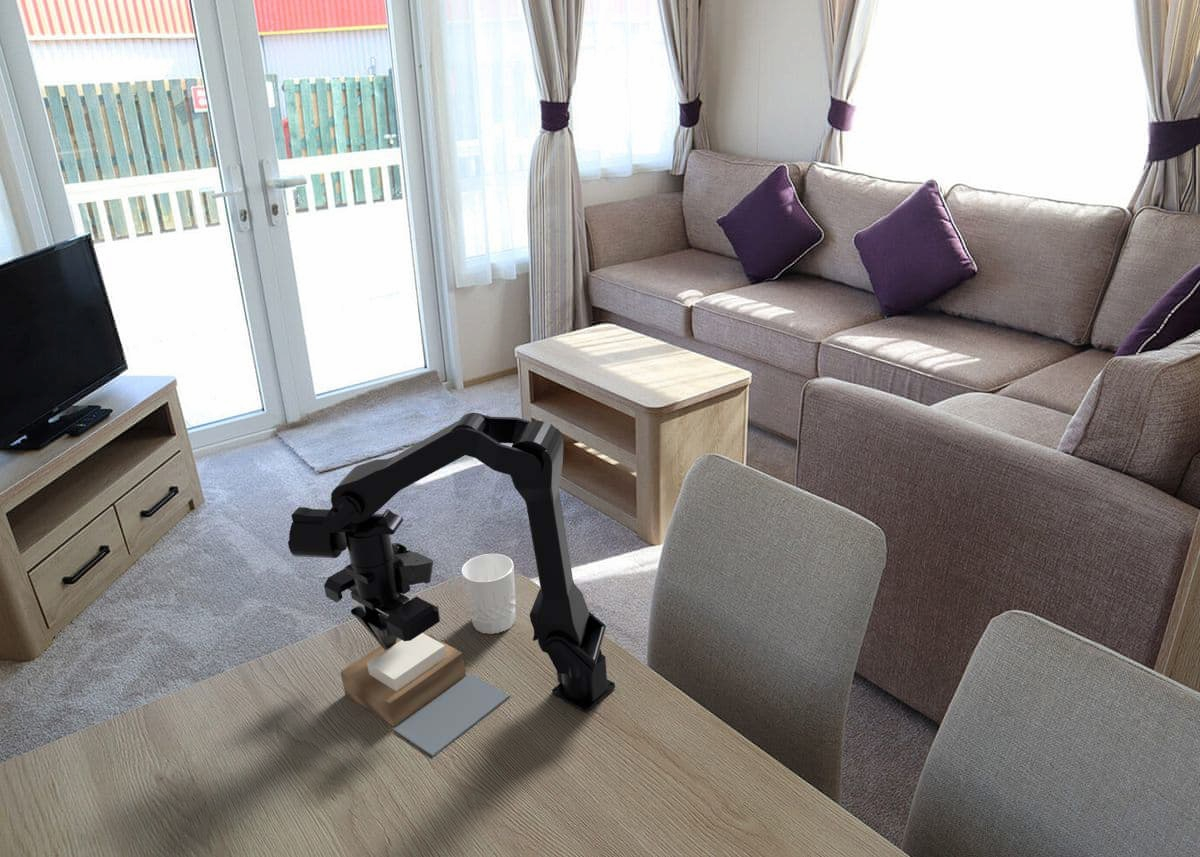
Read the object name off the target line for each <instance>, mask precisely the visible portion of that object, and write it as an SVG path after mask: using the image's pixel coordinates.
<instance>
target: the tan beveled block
mask: <svg viewBox="0 0 1200 857" xmlns="http://www.w3.org/2000/svg"><path fill="white" fill-rule="evenodd" d="M423 634H425V635H427V636H429V637H431V638H433V639H434V640H436V641H438V642H440V643H442V644H443V645H445V649H446V655H447V657H446V658H444V659H443V660H441V661H440V662H438V663H437V664H435V665H434V666H433V667H431V668H430V669H428V670H427V671H425V672H424V673H422V674H421V675H420V676H418V677H417V678H415V679H414V680H412V681H411V682H409V683H408V684H406V685H405V686H404V687H402V688H401V689H399V690H398V691H395V690H393V689H392V688H390V687H388V686H387V685H385V684H384V683H382V682H380V681H379V680H377V679H376V678H374V677H373V676H371V675H369V672H368V667H367V662H369V661H370V660H372V659H373V658H375V657H376V656H378V655H379V654H381V653H383V652H384V651H385V650H384V649H383V647H382V646H381V645H379V646H378V647H377V648H375V649H374V650H372V651H370V652H369V653H367V654H366V655H364V656H363V657H361V658H360V659H358V660H357V661H355V662H353V663H352V664H350V665H349V666H347V667H345V668H344V669H342V670H341V671H340V676H341V681H342V685H343V690H344V695H345V696H347V697H349V698H350V699H351V700H353V701H355V702H356V703H357V704H359V705H361V706H362V707H363V708H365V709H367V710H368V711H370V712H371V713H372V714H374V715H376V716H377V717H378V718H380V719H381V720H383V721H385V722H386V723H387V724H389V725H391V726H392V727H393V728H395V727H397V726H398V725H399V724H401V723H402V722H404V721H405V720H406V719H408V718H409V717H411V716H412V715H413V714H415V713H416V712H418V711H419V710H420V709H422V708H423V707H424V706H426V705H427V704H429V703H430V702H431V701H433V700H434V699H436V698H437V697H438V696H440V695H441V694H442V693H444V692H445V691H447V690H448V689H449V688H451V687H452V686H454V685H455V684H456V683H458V682H459V681H460V680H462V679H463V678H465V677H466V676H467V674H466V666H465V661H464V660H465V659H464V654H463V651H460V650H459V649H456V648H454V647H453V646H451V645H450V644H447V643H445V642H444V641H442V640H440V639H439V638H436V637H435V636H433V635H431V634H429V633H428V632H427V631H425V632H423ZM400 641H401V639H399V638H398V637H397V639H396V644H397V643H398V642H400Z"/></svg>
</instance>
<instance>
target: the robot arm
mask: <svg viewBox="0 0 1200 857" xmlns="http://www.w3.org/2000/svg"><path fill="white" fill-rule="evenodd" d="M506 444H512V445H511V446H510V445H506ZM465 456H467V457H471V458H474V459H476V460H478V461H479V462H481V464H484V465H485V466H487V467H488V468H490V469H491V470H493V471H495V472H498V473H501V474H505V475H508V476H510V479H511V481H512V482H511V483H512V484H513V487H514V489H515V490H516V492H517V493H518V494H519V496H521V498H522V499H523V500H524V502H525V506H526V511H527V512H526V513H527V517H528V522H529V529H530V535H531V539H532V541H531V542H532V546H533V553H534V558H535V565H536V569H537V575H538V576H537V577H538V582H539V587H540V589H538V592H537V596H536V598H535V601H534V602H533V605H532V606H531V610H530V612H529V620H530V623H531V626H532V628H533V637H532V641H533V642H534V641H535V642H536V641H537V644H538V646H539V649H540V650H541V652H543V653H546V654H547V655H548V657H549V659H550V661H551V663H552V664H553V666H554V668H555V671H556V674H557V675H556V676H557V682H558V683H559V684H557V685H556V686H555V687H554V688H552V689H551V693H552V695H554V696H555V697H557V698H558V699H561V700H563V701H564V702H566V703H568V704H569V705H571V706H573V707H576V708H577V709H579V710H580V711H583V712H589V711H590V710H591V709H592V708H593V707H594V706H596V705H597V704H598V703H599V702H601V700H602V699H604V698H605V697H606V696H607V695H608V694H609V693H610V692H612V691H613V690H614V689H615V688H616V683H615V682H614V681H612V680H609V679H608V673H607V663H606V660H607V657H606V656H605V655H604V654H603V653H602V649H601V647H602V643H603V639H604V636H605V631H606V629H607V625H606V624H605V623H604V622H602V620H600V619H599V618H598V617H596V616H595V615H594V614H593V613H592V612H591V611H589V609H588V605H587V602H586V600H585V597H584V595H583V592H582V591H581V590H580V589H579V587H578V586H577V585H576V584H575V581H574V578H573V571H572V565H571V558H570V552H569V545H568V540H567V539H568V538H567V532H566V526H565V519H564V513H563V506H562V500H561V493H560V488H561V486H560V485H561V478H562V471H563V464H564V463H563V462H564V437H563V434H562V432H561V431H560V429H559V428H557V427H555V426H554V425H553V424H552V423H549V422H546V421H544V420H534V421H530V420H527V419H524V418H520V417H517V416H516V417H512V416H511V417H510V416H490V415H486V414H482V413H479V412H469V413H465V414H463V415H462V416H461V417H460V419H458V420H457V421H455V422H453V423H451V424H450V425H447V426H446V427H444V428H442V429H441V430H439V431H437V432H435V433H434V434H431V435H429V436H428V437H426V438H425V439H423V440H421V441H420V442H417V443H416V444H413V445H412V446H410V447H408V448H406V449H405V450H403V451H402V452H399V453H397V454H395V455H394V456H391V457H389V458H383V459H381V458H380V459H374V460H371V461H367V462H365V463H362V464H359V465H356V466H354V468H352V469H351V470H350V471H349V472H348V473H347V474H346V476H344V477H343V479H342V480H341V481H340V482H339V483H338V485H336V486H335V488H334V489H333V490H332V492H331V493H330V503H331V506H332V507H331V509H324V508H323V509H321V508H318V509H317V508H309V507H303V506H301V507H300V506H299V507H298V508H297V509H296V510H295V511H294V512H293V513H292V514H291V515H290V516H291V520H292V523H291V526H290V527H289V528H290V529H289V533H288V534H289V536H288V542H287V544H288V545H287V546H288V549H289V552H290V553H291V554H292V556H293V557H296V558H297V557H298V558H299V557H300V558H301V557H302V558H321V559H324V558H325V559H336V558H339V557H340V556H341V554H342V552H344V551H346V550H347V551H348V556H349V560H350V564H348V565H346V566H345V568H343V569H341V570H339V571H337V572H336V573H334V574H332V575H330V576H328V577H327V579H326V581H325V582H324V585H323V587H324V588H323V589H324V593H325V597H327V598H328V599H329V600H331V601H333V602H335V603H338V602H340V601H341V600H342V599H343V595H342V593H343V592H345V591H346V590H349V591H350V600H351V601H352V602H353V605H354V607H353V608H352V609H351V610H350V613H351V615H352V616H354V617H355V619H357V620H358V622H359V623H361V625H362V626H363V627H364V628H365V629H366V630H367V631H368V633H369V634H370V635H371V636H372V637H373V638H374V640H376V642H377V643H378V644H379V646H382V647H383V649H384V650H385V651H386V650H387V649H389V648H390V647H392V646H393V645H395V644H396V639H397V637H398V638H399V639H401V640H403V641H411V640H412V639H414V638H415V637H417V636H418V635H420V634H421V633H423V632H427V631H428V630H429V629H430V628H432V627H434V626H435V625H437V624H438V623H440V621H441V616H440V609H439V608H440V607H439V606H437V605H435V604H433V603H432V602H429V601H427V600H426V599H424V598H422V597H419V596H415V597H413V598H411V599H410V597H408V596H406V595H405V594H407V593H409V592H410V591H411V586H413V585H419V584H423V583H424V584H429V583H431V580H432V572H433V565H434V560H433V559H431V558H430V557H428V556H426V555H423V554H421V553H420V552H415V551H412V550H410V549H409V550H408V549H407V547H406V546H405V545H403V544H402V543H399V542H394V543H393V542H392V538H391V535H394V534H395V533H396V532H397V530H398V529H399V527H400V526H401V525H402V523H403V522H404V518H403V517H402V516H400V515H399V514H396V513H394V512H393V511H391V510H390V509H389V508H387V509H385V511H384V512H383V513H377V512H378V511H379V510H381V509H382V508H383V507H384V506H385V504H387V503H388V502H389V501H390V500H391V499H392V498H394V496H395V495H397V493H399V492H400V491H402V490H403V489H406V488H407V487H409V486H411V485H412V484H415V483H416V482H418V481H421V480H423V479H424V478H426V477H428V476H430V475H431V474H433V473H435V472H438V471H439V470H440V469H442V468H445V467H446V466H448V465H450V464H452V463H454V462H455V461H458V460H459V459H461V458H462V457H463V458H464V457H465Z"/></svg>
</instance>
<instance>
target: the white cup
mask: <svg viewBox="0 0 1200 857" xmlns="http://www.w3.org/2000/svg"><path fill="white" fill-rule="evenodd" d="M514 569H515V568H514V562H513V560H512V559H511V558H510V557H509V556H507V555H504V554H502V553H501V554H500V553H486V554H480V555H477V556H475V557H472V558H470V559H468V560H467V561H466V562H464V564H463V565H462V567H461V575H462V580H463V586H464V587H463V588H464V591H465V596H466V601H467V606H468V609H469V613H470V617H471V622H472V626H473V627H474V629H475V630H476V631H477V632H480V633H481V634H486V633H487V635H495V633H496V634H500V632H501V633H504V632H505V631H508V630H509V629H511V628H512V626H513V625H514V624H515V623H516V617H517V614H516V586H515V584H516V582H515V570H514ZM503 631H504V632H503Z"/></svg>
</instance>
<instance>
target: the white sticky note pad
mask: <svg viewBox="0 0 1200 857" xmlns="http://www.w3.org/2000/svg"><path fill="white" fill-rule="evenodd" d="M446 657H447V655H446V649H445V645H443V644H442V643H440V642H438V641H436V640H434V639H433V638H431V637H429V636H427V635H425V634H423V633H421V634H420V635H418V636H417V637H415V638H414V639H412V640H411V641H403V640H401V641H400V642H398V643H397V644H395V645H393V646H392V647H390V648H389V649H387V650H386V651H384V652H383V653H381V654H379V655H378V656H376V657H375V658H373V659H372V660H370V661H369V662H367V667H368V672H369V675H371V676H373V677H374V678H376V679H377V680H379V681H380V682H382V683H384V684H385V685H387V686H388V687H390V688H392V689H393V690H395V691H398V690H399V689H401V688H402V687H404V686H405V685H406V684H408V683H409V682H411V681H412V680H414V679H415V678H417V677H418V676H420V675H421V674H422V673H424V672H425V671H427V670H428V669H430V668H431V667H433V666H434V665H435V664H437V663H438V662H440V661H441V660H443V659H444V658H446Z"/></svg>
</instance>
